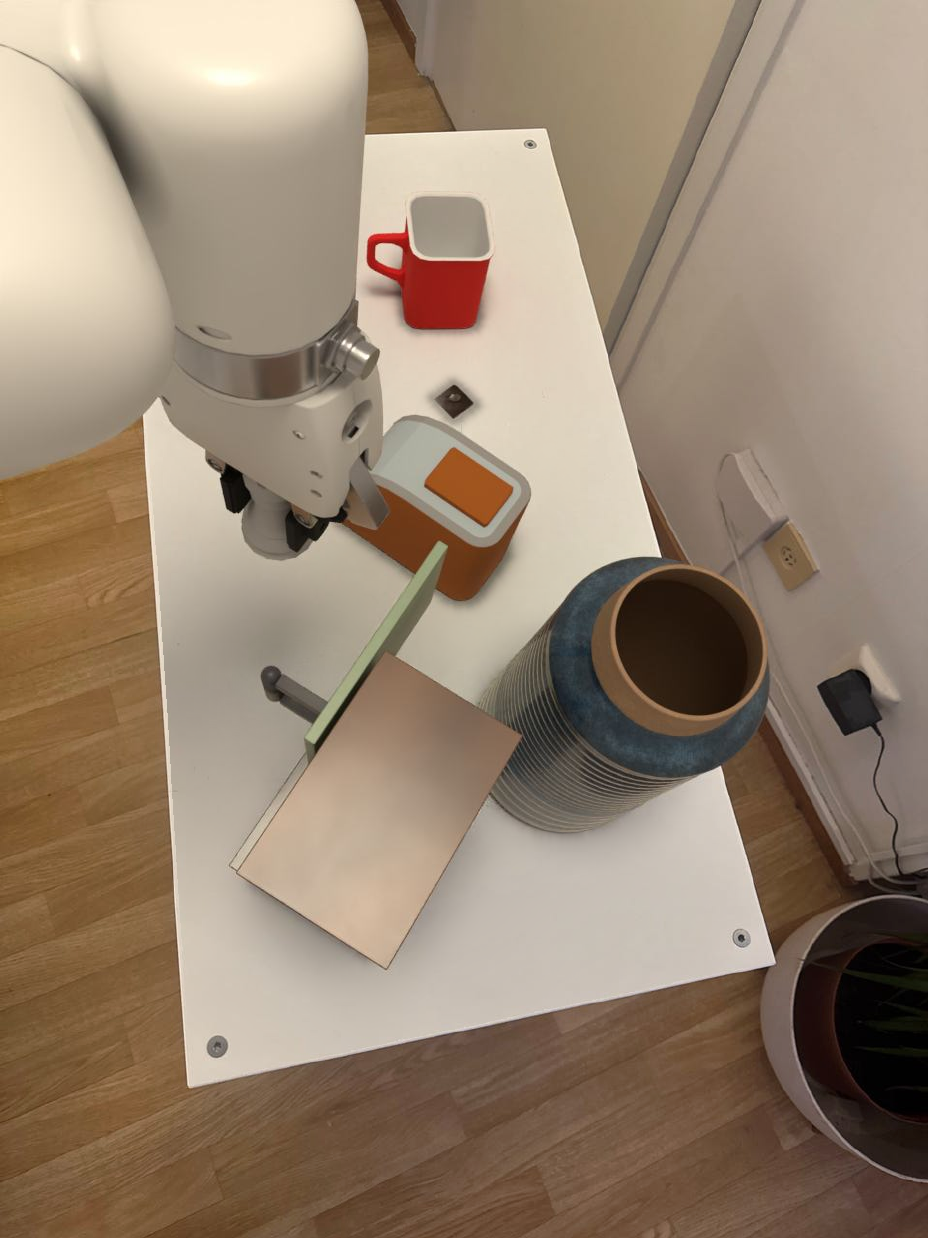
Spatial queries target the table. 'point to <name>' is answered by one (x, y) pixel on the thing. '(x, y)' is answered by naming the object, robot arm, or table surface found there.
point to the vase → (629, 692)
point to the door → (384, 639)
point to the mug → (440, 258)
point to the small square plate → (453, 401)
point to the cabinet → (378, 809)
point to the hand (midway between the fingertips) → (277, 510)
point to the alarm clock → (445, 503)
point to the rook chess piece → (267, 523)
